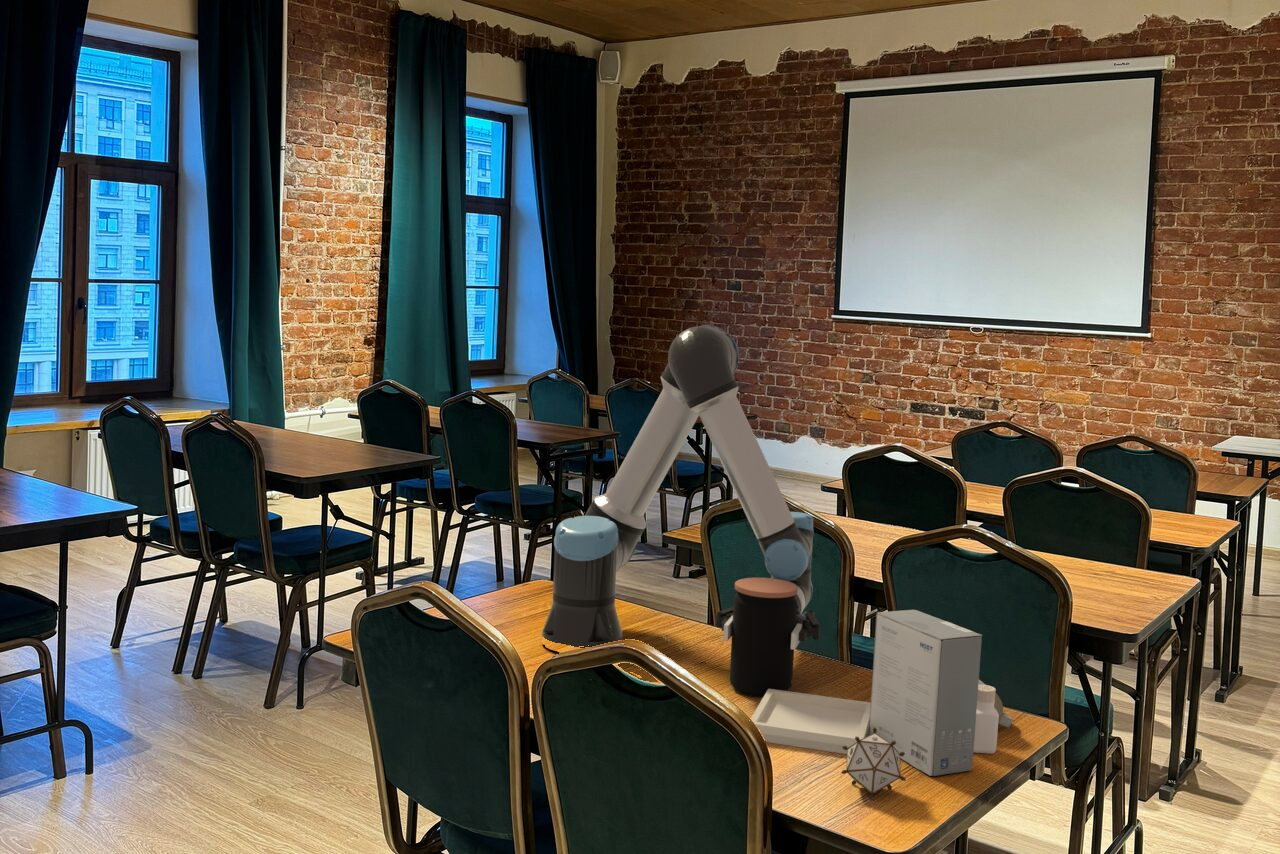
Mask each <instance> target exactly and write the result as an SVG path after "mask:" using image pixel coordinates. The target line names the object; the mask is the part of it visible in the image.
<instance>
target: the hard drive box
mask: <svg viewBox="0 0 1280 854" xmlns="http://www.w3.org/2000/svg"><path fill="white" fill-rule="evenodd" d="M875 617H876V618H875V630H874V631H875V632H874V646H873V660H872V661H873V664H872V680H871V693H870V703H871V707H870V722H869V733H868V736H869V735H871V734H872V733H873V728H874V727H875V728H876V729H877V732H876V734H878V735H879V736H881V737H882V738H884V739H885V740H887V741H888V742H890V743H891V742H892V741H896V744H895V745H893V746H894V747H895V749H896V750H897V751H898V752H899V754H900V753H901V752H904V753H905V754H904V756H900V760H902V761H904V762H906V763H907V764H909V765H910V766H911V767H914V768H915V769H917V770H919V771H921V772H923V773H925V774H926V775H928V776H930V777H931V776H933V777H936V776H942V775H948V774H949V775H950V774H956V773H962V772H970V771H972V770H973V763H974V752H973V751H974V738H975V725H976V710H977V697H978V683H979V680H980V669H981V667H980V665H981V653H982V639H983V634H981V633H977V632H975V631H974V630H970V629H968V628H965V627H962V626H959V625H957V624H954V623H953V622H950V621H946V620H945V619H944V620H943V619H941V618H938V617H936V616H932V615H931V614H929V613H928V614H927V613H925V612H923V611H920V610H917V609H904V610H894V611H893V610H892V611H880V612H879V611H878V612H876V616H875Z"/></svg>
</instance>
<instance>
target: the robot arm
mask: <svg viewBox="0 0 1280 854" xmlns="http://www.w3.org/2000/svg"><path fill="white" fill-rule="evenodd" d="M739 358H740V353H739V349H738V346H737V344H736V341H735V340H734V338H733V337H732V336H731V335H730V334H729V333H728V332H726V331H725V330H724V329H722V328H720V327H717V326H715V325H710V324H707V325H700V326H699V325H697V326H693V327H689V328H687V329H685V330H683V331H681V332H680V333H679V334H678V335H677V336H676V337H675V338H674V339H673V341H672V342H671V345H670V347H669V349H668V357H667V360H668V363H667V364H666V365H665V369H664V370H663V372H662V374H661V375H660V381H661V385H662V390H661V392H660V394H659V396H658V398H657V399H656V401H655V402H654V405H653V406H652V408H651V410H650V412H649V413H648V415H647V417H646V419H645V421H644V423H643V425H642V426H641V428H640V430H639V432H638V434H637V436H636V437H635V440H633V443H632V445H631V446H630V448H629V450H628V452H627V453H626V456H625V458H624V459H623V461H622V463H621V465H620V467H619V469H618V470H617V472H616V473H615V476H614V478H613V479H612V481H611V482H610V485H609V487H608V488H607V491H606V492H605V493H604V494H601V495H597V496H595V497H594V498H593V500H592V502H591V504H590V506H589V507H588V509H587V511H586V513H585V515H578V516H574V517H568V518H566V519H564V520H562V521H561V522H559V523H558V524H557V526H556V529H555V534H554V535H555V536H554V538H553V546H554V554H553V555H554V556H553V557H554V558H553V583H552V584H553V585H552V586H553V587H552V602H551V603H552V604H551V607H550V610H549V613H548V615H547V618H546V621H545V624H544V627H543V629H542V633H541V637H542V636H543V637H544V638H545V639H547V640H549V641H552V642H555V643H561V644H566V645H571V646H574V647H579V646H584V647H580V648H585V647H592V646H596V645H600V644H604V643H608V642H613V641H618V640H622V639H623V636H624V635H623V630H622V627H621V624H620V620H619V619H620V618H619V616H618V613H617V609H616V608H617V607H616V604H615V603H616V582H617V572H619V570H620V569H621V568H623V567H624V566H626V565H627V564H628V562H629V561H630V560H631V559H632V558H633V556H634V554H635V551H636V548H637V543H638V542H639V539H640V538H641V536H642V535H643V533H644V531H645V529H646V527H647V521H646V518H645V513H646V511H647V509H648V508H649V506H650V504H651V502H652V500H653V499H654V498H655V497H654V496H656V494H657V492H658V490H659V488H660V486H661V484H662V483H663V481H664V479H665V477H666V475H667V474H668V473H669V470H670V469H671V467H672V465H673V463H674V461H675V460H676V458H677V456H678V454H679V452H680V451H681V449H682V447H683V446H684V443H685V442H686V439H687V437H689V434H690V432H691V431H692V429H693V428H694V425H695V424H696V422H697V420H698V418H700V420H701V422H702V424H703V427H704V429H705V430H706V433H707V435H708V437H709V439H710V442H711V444H712V446H713V448H714V450H715V453H716V454H717V457H718V459H719V461H720V463H721V466H722V467H723V469H724V471H725V473H726V476H727V477H728V480H729V482H730V485H731V486H732V489H733V490H734V493H735V494H736V497H737V499H738V501H739V503H740V505H741V507H742V508H741V509H743V512H744V514H745V516H746V519H747V520H748V523H749V524H750V526H751V529H752V530H753V533H754V535H755V538H756V540H757V542H758V544H759V547H760V548H761V551H762V554H763V555H764V559H763V560H764V564H765V568H766V570H767V572H768V573H769V574H770V578H773V579H780V580H784V581H788V582H791V583H794V584H795V585H797V586H798V591H797V594H796V595H795V596H794V597H795V598H796V600H797V611H796V627H795V628H794V630H793V632H792V634H791V649H793V650H794V651H796V649H797V647H798V645H799V644H800V642H806V641H807V640H809V637H811V638H812V639H813V640H815V641H817V640H820V636H821V635H820V634H821V624H820V622H819V621H818V619H817V618H816V616H815V610H813V609H810V610H807V611H804V610H805V609H806V608H807V606H808V604H809V603H810V601H811V600H812V597H813V589H814V586H813V583H812V580H811V579H812V556H813V555H812V554H813V541H814V532H815V531H814V518H813V516H812V515H811V514H809V513H805V512H798V511H790V509H789V507H788V504H787V502H786V500H785V498H784V496H783V493H782V491H781V490H780V488H779V485H778V483H777V481H776V479H775V477H774V474H773V472H772V470H771V468H770V466H769V464H768V462H767V459H766V457H765V454H764V453H763V451H762V450H763V449H762V448H761V447H760V444H759V442H758V440H757V438H756V436H755V433H754V431H753V428H752V426H751V425H750V422H749V420H748V419H747V417H746V414H745V412H744V410H743V408H742V406H741V403H740V401H739V399H738V397H737V394H738V392H739V389H740V387H739V386H738V383H737V382H736V379H735V376H734V375H735V373H736V371H737V369H738V366H739V362H740V360H739ZM733 607H734V605H733V606H730V607H728V608H725V609H721V610H720V611H717V612H716V624H715V625H716V628H721V631H722V633H723V634H722V635H723V642H729V640H730V639H732V625H733ZM588 645H589V646H588Z"/></svg>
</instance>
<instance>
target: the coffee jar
mask: <svg viewBox="0 0 1280 854" xmlns="http://www.w3.org/2000/svg"><path fill="white" fill-rule="evenodd" d="M734 590H735V591H736V593H735V595H734V598H733V606H734V607H733V606H732V607H733V625H732V636H731V645H730V646H731V647H730V648H731V649H730V663H729V665H730V666H729V682H730V684H731V685H732V688H733V689H734V691H736V693H737V692H738V693H740V694H742V695H745V696H749V697H755V698H761V699H763V697H764V695H765V694H766V692H767V690H768V689H775V690H782V691H789V690H791V688H793V687H792V686H793V676H794V675H793V674H794V660H795V659H794V658H795V657H794V656H795V650H793V649H791V634H792V632H793V630H794V628H795V627H796V611H797V600H796V598H795V597H794V596H795V595H796V594H797V591H798V586H797V585H795V584H794V583H791V582H788V581H784V580H780V579H773V578H771V577H745V578H741V579H737V580H736V581H735V582H734Z"/></svg>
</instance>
